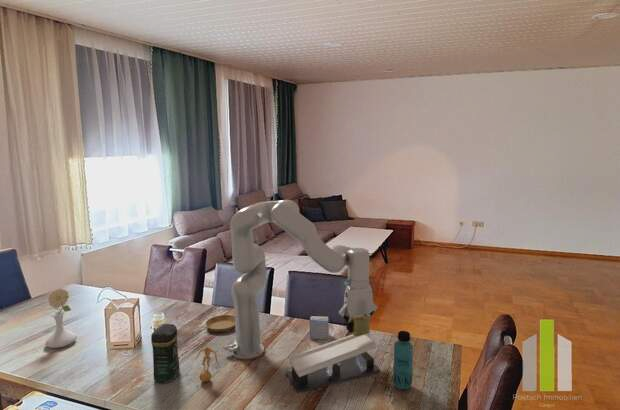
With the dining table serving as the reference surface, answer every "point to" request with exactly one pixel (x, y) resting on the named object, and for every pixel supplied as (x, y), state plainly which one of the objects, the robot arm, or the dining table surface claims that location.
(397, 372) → the beverage bottle
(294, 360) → the beam
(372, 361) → the seesaw stand
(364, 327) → the block
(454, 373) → the dining table surface
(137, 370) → the dining table surface
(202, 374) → the figurine
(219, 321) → the plant saucer
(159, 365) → the coffee jar
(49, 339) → the flower in vase
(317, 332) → the medicine box
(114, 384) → the dining table surface
